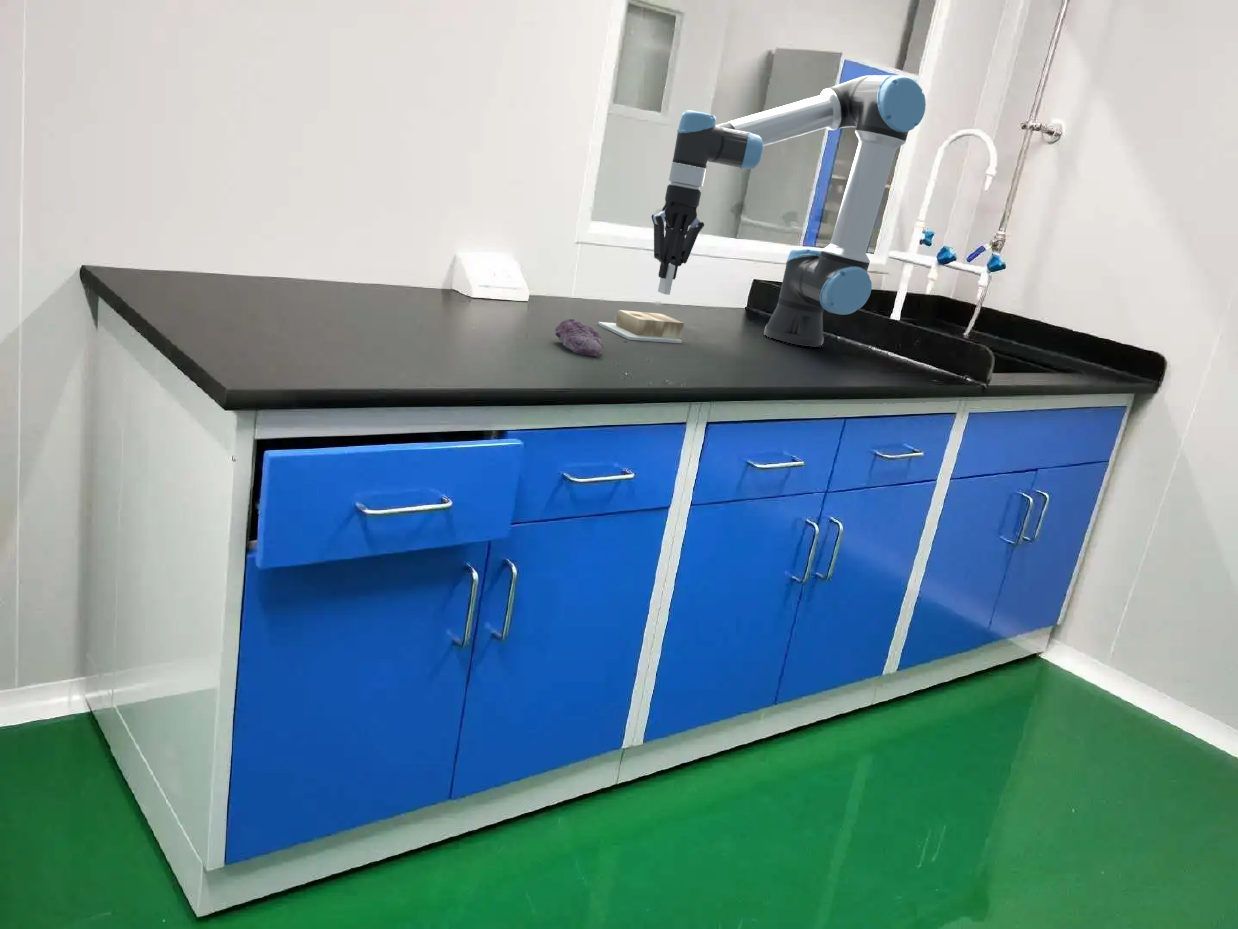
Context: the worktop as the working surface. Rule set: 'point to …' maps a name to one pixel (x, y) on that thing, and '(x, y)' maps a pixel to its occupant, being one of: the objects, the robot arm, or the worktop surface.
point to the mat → (631, 336)
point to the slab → (649, 324)
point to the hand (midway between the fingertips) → (663, 292)
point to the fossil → (579, 338)
